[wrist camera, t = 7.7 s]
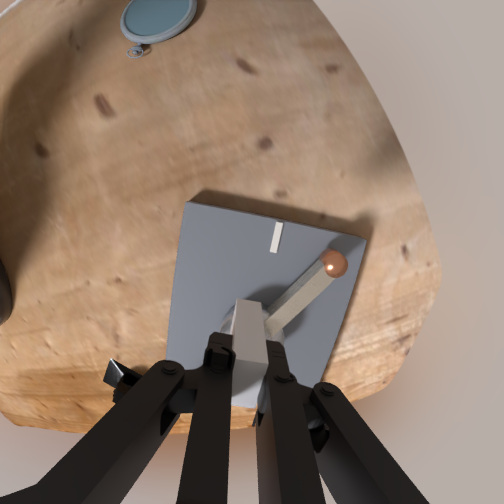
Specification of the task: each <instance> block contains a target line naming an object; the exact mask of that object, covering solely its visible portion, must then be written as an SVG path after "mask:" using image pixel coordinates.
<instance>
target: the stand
mask: <svg viewBox="0 0 504 504" xmlns="http://www.w3.org/2000/svg"><path fill="white" fill-rule="evenodd" d="M366 242H367V240H366V239H364V238H362V237H359V236H355V235H351V234H347V233H342V232H338V231H334V230H330V229H325V228H321V227H316V226H312V225H307V224H303V223H298V222H294V221H289V220H285V219H280V218H275V217H270V216H266V215H261V214H256V213H251V212H246V211H241V210H236V209H231V208H226V207H221V206H215V205H210V204H205V203H200V202H194V201H187V202H185V207H184V213H183V219H182V225H181V231H180V238H179V245H178V251H177V259H176V266H175V273H174V281H173V290H172V298H171V307H170V317H169V327H168V338H167V350H166V360H172V361H176V362H178V363H180V364H181V365H182V366H183V367H184V369H185V370H190V369H196V368H199V367H200V366H202V365H203V359H204V353H205V349H206V348H207V345H208V340H209V336H210V335H211V334H212V333H213V332H219V331H220V326H221V322H222V319H223V317H224V315H225V314H226V313H227V312H228V311H229V310H230V309H231V308H232V307H234V306H235V305H236V300H237V298H239V299H244V300H250V301H256V302H261V303H262V304H264V305H267V306H269V307H270V306H271V305H272V304H273V303H274V302H275V301H276V300H277V299H278V298H279V297H280V296H281V295H282V294H283V293H285V292H286V291H287V290H288V289H289V288H290V287H291V286H292V285H293V284H294V283H295V282H296V281H297V280H298V279H299V278H300V277H301V276H302V275H303V274H304V273H305V272H306V271H307V270H308V269H309V268H310V267H312V266H313V265H314V264H315V263H316V262H317V261H318V260H319V256H320V254H321V252H322V251H323V250H325V249H327V248H334V249H336V250H337V251H338V252H340V253H341V254H342V255H343V256H344V257H345V258H346V259H347V261H348V269H347V271H346V273H345V274H344V275H343V276H341V277H339V278H335V279H334V280H333V281H332V282H331V283H330V284H329V285H328V286H327V287H326V288H325V289H324V290H323V291H322V292H321V293H320V294H319V295H318V296H317V297H316V298H315V299H314V300H312V301H311V302H310V303H309V304H308V305H307V306H306V307H305V308H304V309H303V310H302V311H301V312H300V313H298V314H297V315H296V316H295V317H294V318H293V319H292V320H291V321H290V322H289V323H287V324H286V325H285V326H284V327H283V328H282V329H283V334H284V348H285V352H286V357H287V361H288V366H289V370H290V372H291V373H292V374H293V375H295V377H296V379H297V382H298V383H299V384H301V385H304V386H307V387H311V388H313V387H314V385H315V384H316V383H319V382H320V379H321V377H322V374H323V372H324V369H325V367H326V364H327V362H328V359H329V357H330V354H331V351H332V349H333V346H334V343H335V341H336V338H337V335H338V332H339V330H340V327H341V324H342V321H343V318H344V315H345V312H346V309H347V306H348V303H349V300H350V297H351V294H352V291H353V287H354V284H355V281H356V277H357V274H358V271H359V267H360V264H361V260H362V257H363V253H364V249H365V246H366Z"/></svg>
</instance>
